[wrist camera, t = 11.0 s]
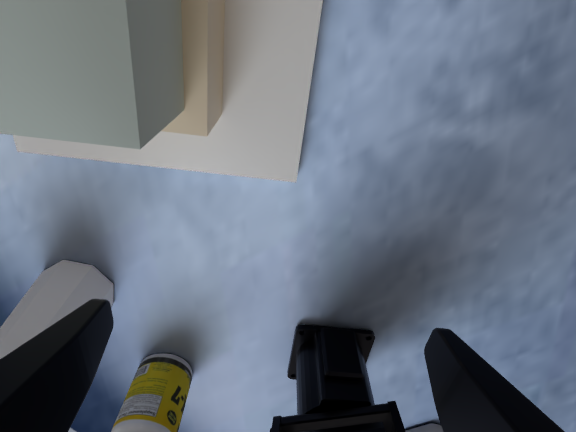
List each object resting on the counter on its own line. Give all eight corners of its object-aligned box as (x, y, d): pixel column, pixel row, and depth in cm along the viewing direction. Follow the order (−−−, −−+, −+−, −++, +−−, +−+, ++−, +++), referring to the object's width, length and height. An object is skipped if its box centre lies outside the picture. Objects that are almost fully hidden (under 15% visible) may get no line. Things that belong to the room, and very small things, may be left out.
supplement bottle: (195, 386, 32) (168, 494, 25) (144, 384, 32) (102, 492, 25) (191, 351, 30) (160, 460, 22) (136, 350, 29) (86, 459, 22)
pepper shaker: (62, 316, 27) (-57, 475, 18) (28, 262, 25) (-135, 416, 15) (127, 309, 27) (41, 467, 18) (99, 254, 24) (-21, 406, 15)
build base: (295, 175, 21) (298, 216, 17) (29, 146, 20) (-41, 180, 16) (339, -131, 14) (362, -194, 10) (-63, -199, 13) (-230, -302, 9)
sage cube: (184, 109, 14) (140, 149, 10) (61, 95, 14) (-39, 129, 10) (179, -36, 12) (119, -66, 8) (30, -58, 12) (-122, -103, 7)
